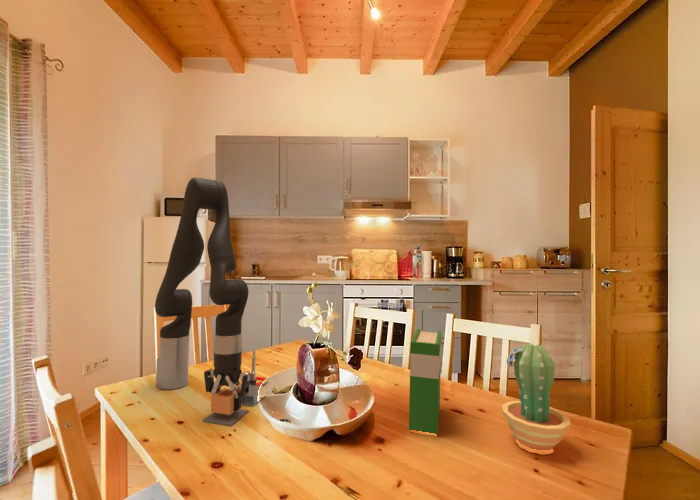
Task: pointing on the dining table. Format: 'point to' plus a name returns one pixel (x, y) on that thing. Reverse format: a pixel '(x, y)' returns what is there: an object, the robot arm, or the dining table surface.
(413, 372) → the hardback book
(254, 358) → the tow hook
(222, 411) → the link
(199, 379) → the dining table surface
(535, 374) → the potted cactus
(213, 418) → the pad
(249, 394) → the vise block
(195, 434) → the dining table surface
